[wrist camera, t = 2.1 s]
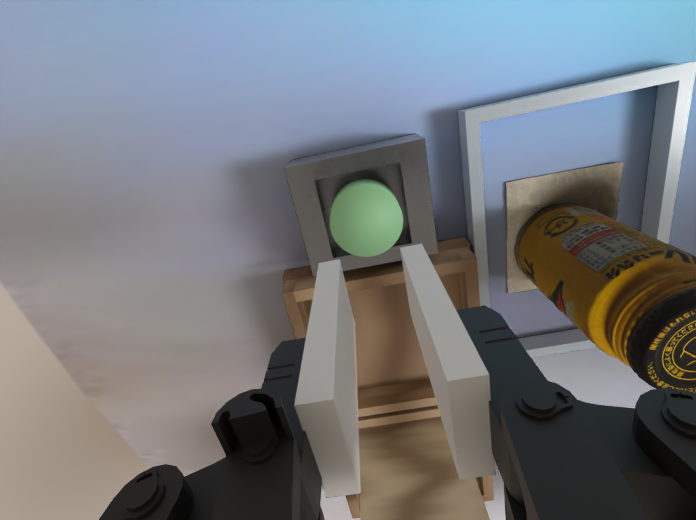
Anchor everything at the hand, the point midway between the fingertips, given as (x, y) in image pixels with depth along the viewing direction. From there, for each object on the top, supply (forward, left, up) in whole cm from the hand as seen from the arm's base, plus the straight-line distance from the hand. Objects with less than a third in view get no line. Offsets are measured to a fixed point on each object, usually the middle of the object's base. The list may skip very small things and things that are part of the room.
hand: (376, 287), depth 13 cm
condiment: (-13, +5, -13) cm, 19 cm away
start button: (0, 0, -9) cm, 9 cm away
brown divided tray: (0, +16, -12) cm, 20 cm away
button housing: (0, 0, -12) cm, 12 cm away
